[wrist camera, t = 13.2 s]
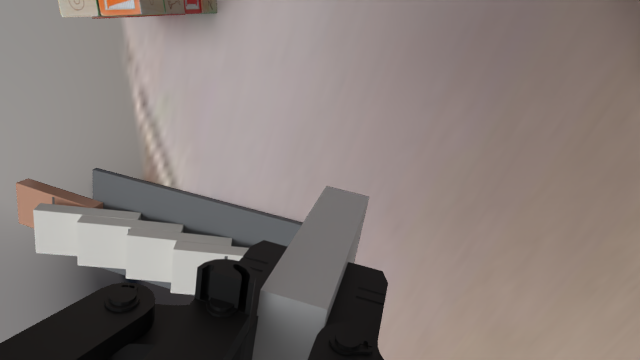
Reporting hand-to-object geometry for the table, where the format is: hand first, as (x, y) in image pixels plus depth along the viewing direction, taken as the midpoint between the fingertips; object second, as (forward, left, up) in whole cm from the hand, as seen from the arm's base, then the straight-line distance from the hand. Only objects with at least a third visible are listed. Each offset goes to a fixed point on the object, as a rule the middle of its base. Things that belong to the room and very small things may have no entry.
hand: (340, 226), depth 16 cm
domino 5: (+8, +20, -25) cm, 33 cm away
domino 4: (+13, +20, -25) cm, 35 cm away
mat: (+17, +20, -26) cm, 37 cm away
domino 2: (+23, +20, -25) cm, 40 cm away
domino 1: (+28, +20, -25) cm, 43 cm away
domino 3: (+18, +20, -25) cm, 37 cm away
